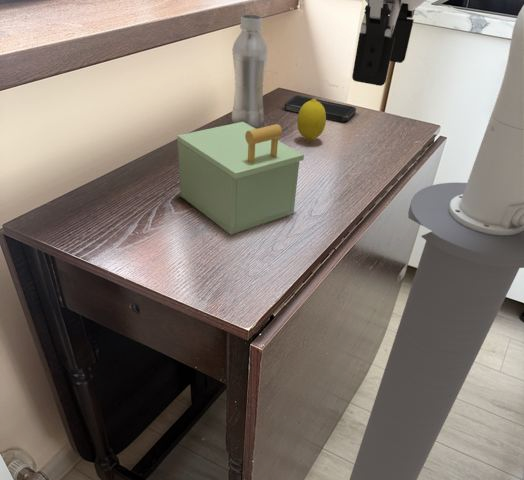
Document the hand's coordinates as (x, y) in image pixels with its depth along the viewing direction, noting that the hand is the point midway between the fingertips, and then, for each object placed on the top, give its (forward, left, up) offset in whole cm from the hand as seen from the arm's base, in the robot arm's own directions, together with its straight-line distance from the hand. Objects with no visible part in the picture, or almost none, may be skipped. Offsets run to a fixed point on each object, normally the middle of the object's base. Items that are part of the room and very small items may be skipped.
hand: (379, 70), depth 52 cm
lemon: (+36, -27, -25) cm, 52 cm away
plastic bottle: (+46, -19, -25) cm, 56 cm away
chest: (+22, +1, -25) cm, 33 cm away
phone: (+48, -41, -25) cm, 68 cm away
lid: (+22, +1, -16) cm, 27 cm away
